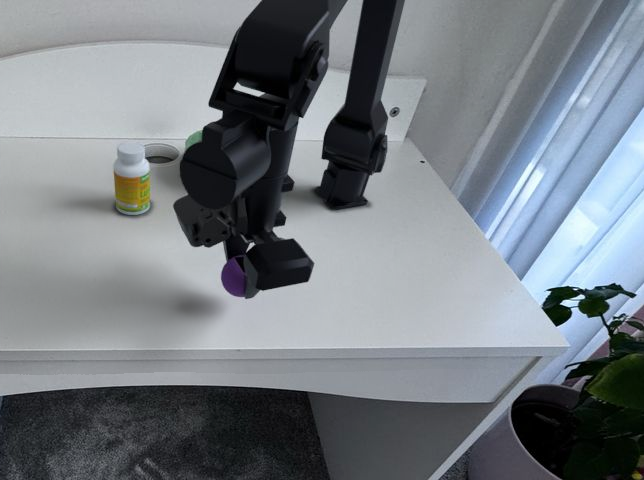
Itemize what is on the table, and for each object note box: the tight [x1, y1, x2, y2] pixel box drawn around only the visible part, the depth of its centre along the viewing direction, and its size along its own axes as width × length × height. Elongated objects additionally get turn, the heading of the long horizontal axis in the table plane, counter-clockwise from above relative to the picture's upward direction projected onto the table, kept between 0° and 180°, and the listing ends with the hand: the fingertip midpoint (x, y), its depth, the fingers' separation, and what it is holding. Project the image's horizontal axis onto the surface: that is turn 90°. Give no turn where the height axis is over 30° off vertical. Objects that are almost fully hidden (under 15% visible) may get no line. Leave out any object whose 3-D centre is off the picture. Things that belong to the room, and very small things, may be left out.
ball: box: [220, 256, 245, 298], centre depth 61 cm, size 5×5×5 cm
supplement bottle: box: [113, 140, 151, 216], centre depth 76 cm, size 5×5×10 cm
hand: (240, 284), depth 62 cm, fingers closed on ball, 5 cm apart
